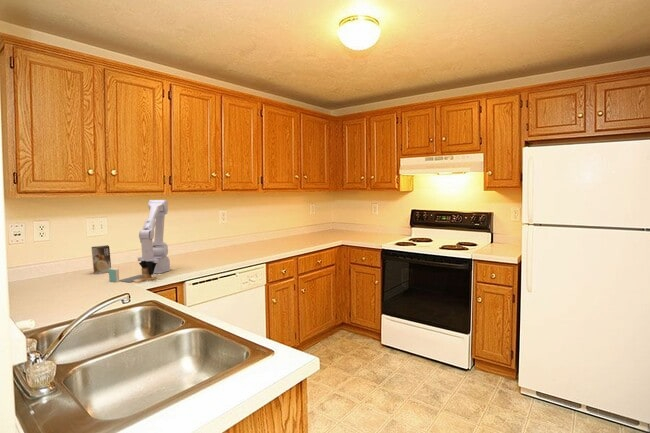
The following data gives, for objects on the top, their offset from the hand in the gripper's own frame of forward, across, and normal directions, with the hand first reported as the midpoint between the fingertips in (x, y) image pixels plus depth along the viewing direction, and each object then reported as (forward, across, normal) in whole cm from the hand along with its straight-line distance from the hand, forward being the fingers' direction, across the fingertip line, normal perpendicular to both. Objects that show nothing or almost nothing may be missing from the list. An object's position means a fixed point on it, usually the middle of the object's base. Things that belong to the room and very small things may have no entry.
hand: (148, 274), depth 208 cm
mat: (+3, -8, -3) cm, 8 cm away
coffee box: (+3, -40, 0) cm, 41 cm away
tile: (+3, -14, -11) cm, 18 cm away
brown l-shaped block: (+3, 0, -4) cm, 5 cm away
